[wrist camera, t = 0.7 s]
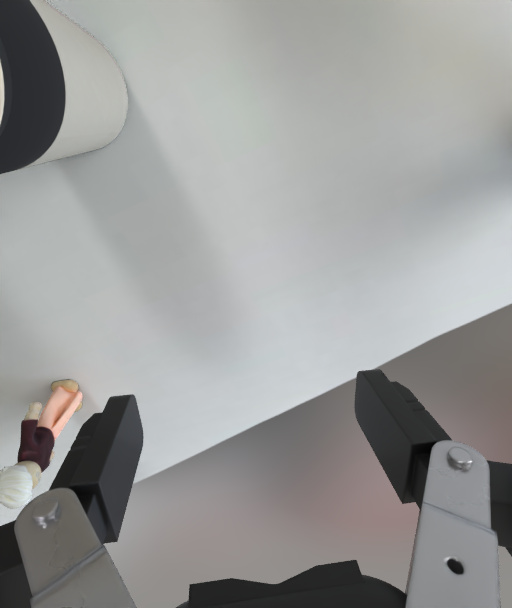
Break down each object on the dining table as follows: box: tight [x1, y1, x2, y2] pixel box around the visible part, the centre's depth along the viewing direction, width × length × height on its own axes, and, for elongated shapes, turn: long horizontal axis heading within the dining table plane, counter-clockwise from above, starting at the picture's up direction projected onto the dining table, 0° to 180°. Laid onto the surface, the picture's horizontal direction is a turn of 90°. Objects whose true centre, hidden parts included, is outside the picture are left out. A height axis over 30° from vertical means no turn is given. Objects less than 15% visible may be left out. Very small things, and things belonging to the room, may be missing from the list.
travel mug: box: [0, 0, 128, 174], centre depth 17 cm, size 8×8×18 cm
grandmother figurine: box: [0, 380, 83, 509], centre depth 32 cm, size 8×4×13 cm, turn 5°
